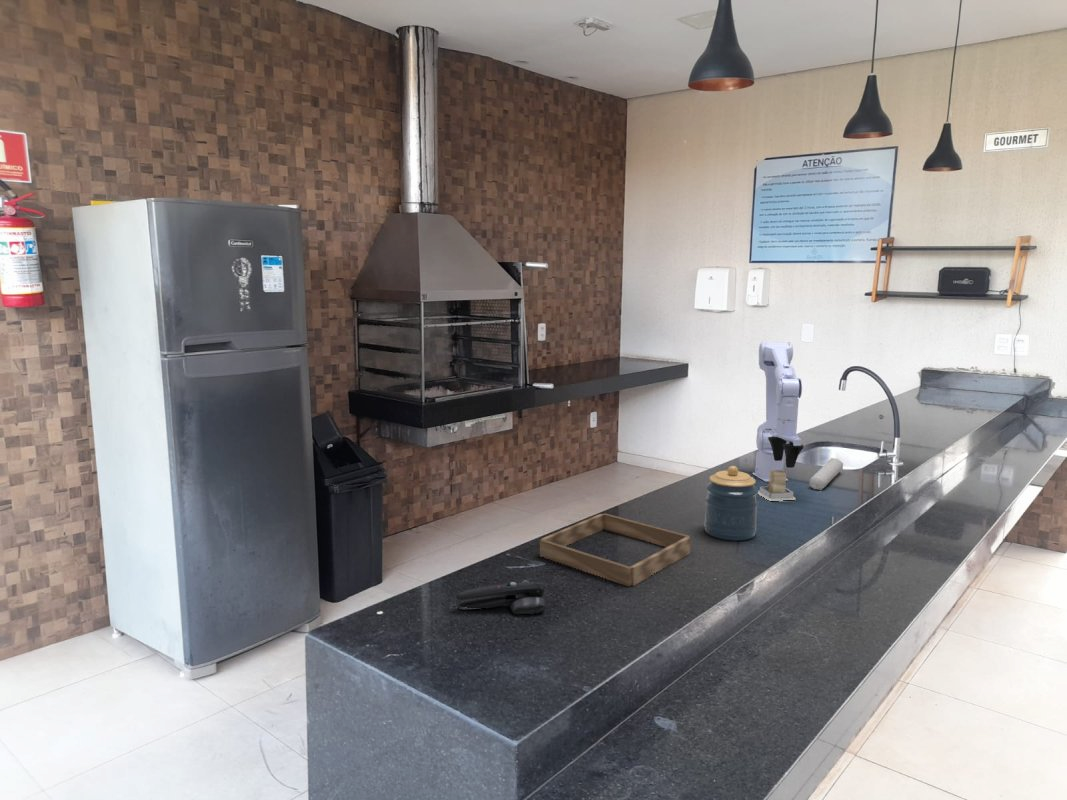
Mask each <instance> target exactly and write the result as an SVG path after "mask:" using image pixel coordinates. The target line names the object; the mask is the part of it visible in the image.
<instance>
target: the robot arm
mask: <svg viewBox="0 0 1067 800" xmlns="http://www.w3.org/2000/svg"><path fill="white" fill-rule="evenodd" d="M793 356H794V346H793V343H792V342H768V341H767V342H765V341H762V342H761V343H760V344H759V347H758V365H759V366H758V367H759V369H761V370H762V371H763V372H764V375H765V414H766V415H765V416H766V417H765V421H764V422H763V423H761V424H760V425H758V427H757V429H756V430H757V431H756V441H755V442H756V448H757V449H758V451H757V452H756V454H755V467H754V468H755V469H754V472H752V475H754V476H755V477H757V478H758V479H760V480H762V481H764V483H765V482H766V483H767V482H768V483H769V473H770V470H782V471H783V472H784V465H785V467H786V468H788V469H789V468H795V466H796V464H797V459H798V458H799V455H800V453H801V452H802V451H803V449H804V447H805V446H804V445H803V444H802V439H801V438H800V437H799V435H798V434H797V430H798V414H799V399H801V397H802V392H803V384H802V379H801V378H800V377H797V375H796V372H795V368H794V367H793V365H791V363H792V360H793ZM788 481H789V479H788V478H787V477H786V482H788Z"/></svg>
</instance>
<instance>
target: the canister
mask: <svg viewBox="0 0 1067 800" xmlns="http://www.w3.org/2000/svg"><path fill="white" fill-rule="evenodd" d="M709 481H710V482H708V483H707V484H706V485H705V489H706V490H707V496H706V497H705V498H704V499H705V500H704V501H705V516H704V521H703V522H704V524H703V526H704V530H705V533H706V534H707V535H708V536H711V537H713V538H716V539H720V540H724V541H725V540H726V541H733V542H734V541H747V540H751V539H753V538H754V537H755V535H756V531H757V511H758V505H759V502H758V500H757V495H758V494H757V493H758V492H759V491H760V489H758V487H757V486H756V485H755V484H756V483H757V482H756V479H755V478H754V477H752V476H751V475H750V474H748V473H746V472H743V471H739V469H738V467H737V466H736V465H730V466H729V467H728V468H727V470H720V471H717V472H715V473H714V474H712V475H710V476H709Z"/></svg>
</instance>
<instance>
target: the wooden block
mask: <svg viewBox="0 0 1067 800" xmlns="http://www.w3.org/2000/svg"><path fill="white" fill-rule="evenodd" d="M786 478H787V472H785V471H784V470H783V471H782V470H770V473H769V482H768V486H769V490H768V491H769V492H771V493H785V487H786V485H787V484H786V483H787V481H786ZM786 488H787V487H786Z"/></svg>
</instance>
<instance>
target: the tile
mask: <svg viewBox="0 0 1067 800" xmlns="http://www.w3.org/2000/svg"><path fill="white" fill-rule="evenodd" d="M758 494H759V496H760V497H761V496H762V497H761V498H763V497H764V498H765V500H766V499H767V500H769V501H779V502H784V501H783V500H795V501H796V497H794V496H793V498H782V499H771V498H768V497H766V496H765V495H763V494H761V493H760V490H759V492H758V493H757V494H756V495H758ZM764 498H763V499H764ZM767 500H766V501H767ZM769 501H768V502H769Z"/></svg>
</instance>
